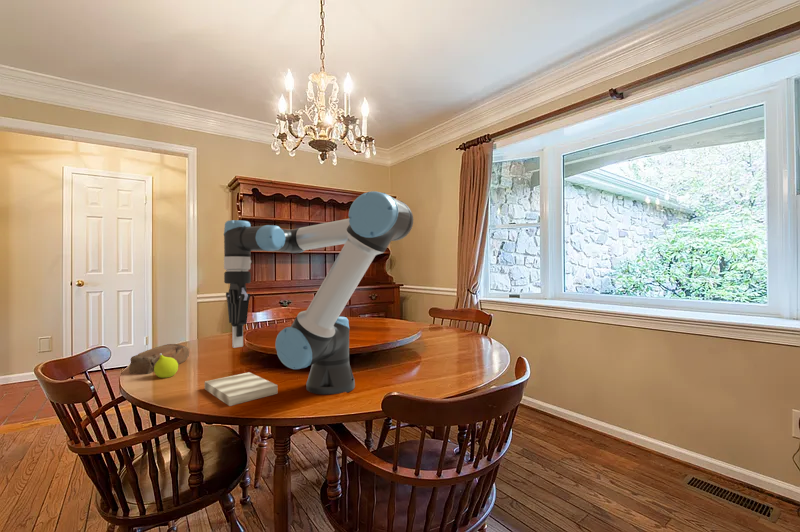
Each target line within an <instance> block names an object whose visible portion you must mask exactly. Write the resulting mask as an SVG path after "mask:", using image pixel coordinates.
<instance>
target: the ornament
mask: <svg viewBox="0 0 800 532" xmlns="http://www.w3.org/2000/svg"><path fill="white" fill-rule="evenodd" d="M178 370H179V364H178V363H177V361H176V360H175V359H174V358H171V357H165V356H163V355H162V353H160V359H159V360H158V361H157V363H156V364H155V366H154V372H153V373H154V374H155V376H156V377H158V378H159V379H167V378H171V377H173V376H175V375H176V373H177V372H178Z"/></svg>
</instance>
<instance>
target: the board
mask: <svg viewBox="0 0 800 532" xmlns="http://www.w3.org/2000/svg"><path fill="white" fill-rule="evenodd" d="M278 389H279V388H278V384H276V383H274V382H272V381H269V380H268V379H265V378H263V377H261V376H259V375H256V374H254V373H252V372H250V371H248V372H244V373H239V374H234V375H230V376H224V377H219V378H215V379H211V380H205V381H204V390H206V392H208V393H209V394H211V395H212V396H214V397H215V398H217V399H218V400H220V401H221V402H223V403H224V404H226V405H227V406H229V407H232V406H235V405H239V404H240V405H241V404H243V403H247V402H250V401H254V400H257V399H263V398H265V397H271V396H274V395H277V394H278Z"/></svg>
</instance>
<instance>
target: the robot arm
mask: <svg viewBox="0 0 800 532" xmlns="http://www.w3.org/2000/svg"><path fill="white" fill-rule="evenodd" d="M413 224H414V215H413V212H412V210H411V208H410V207H409V206H408V205H407V204H406V203H405V202H403V201H402V200H400V199H397V198H395V197H393V196H391V195H389V194H387V193H385V192H380V191H375V190H374V191H373V190H372V191H368V192H367V191H366V192H364V193H362V194H360V195H359V196H357V197H356V199H354V200H353V202H352V204H350V208H349V211H348V218H344V219H340V220H334V221H329V222H324V223H318V224H313V225H308V226H303V227H298V228H293V229H287V228H281V227H280V226H279V225H272V224H271V225H270V224H266V225H257V226H251V225H252V224H251V222H250V221H248V220H240V219H239V220H238V219H237V220H236V219H233V220H232V219H230V220H227V221H226V222H224V230H223V243H224V244H223V248H224V255H223V256H224V257H223V269H224V271H225V270H226V271H225V272H224V273H223V275H224V277H223V279H224V281H223V282H224V284H228V285H229V288H228V289H229V290H228V292H225V297H226V303H227V313H228V322H229V324H230V325H231V327H232V328H231V330H232V332H231V334H232V340H231V341H232V343H231V344H232V346H231V347H232V348H234V349H236V348H242V347H244V326H245V325H246V324H247V323H248V313H249V303H250V299H251V293H248V292H247V287H246V286H247V285H246V284H251V281H252V280H251V279H252V278H251V276H252V274H251V273H252V272H250V271H249V270H251V263H252V260H251V255H252V254H251V252H274V253H275V252H277V253H289V254H300V253H303V252H305V251H308V250H315V249H321V248H326V247H327V248H328V247H334V246H339V245H343V247H342V248H341V250H340V251H339V253H338V255H337V257H336V259H335V260H334V262H333V264H332V266H331V267H330V269H329V271H328V272H327V274H326V276H325V278H324V280H323V281H322V283H321V284H320V287H318V288H319V289H318V290H317V292H316V294H315V295H314V296H313V298H312V299H311V302H310V304H309V306H308V307H307V308H306V310H301V311H300V312H298V314H297V315H296V316H295V319H294V320H293V322H292V323H291V326H287V327H285V328H283V329H282V330H280V331H279V332H278V334H277V336H276V338H275V344H274V345H275V350H276V355H277V357H278V359H279V361H280V362H281V363H282V364H283V366H285V367H286V368H288V369H291V370H300V369H305V368H308V367H309V366H311V367H310V371H309V373H308V376H307V377H308V378H307V381H306V383H305V385H306V388H305V389H306V391H308V393H311V394H316V395H325V396H326V395H337V394H342V393H350V392H351V391H354V389H355V387H356V382H355V377H354V374H353V370H352V367H351V365H350V324H349V323H350V321H349V318H348V317H346V316H340V315H341V314H342V312H343V311H344V309H345V307H346V305H347V304H348V302H349V300H350V299H351V297H352V295H353V294H354V292H355V290H356V289H357V287H358V285H359V284H360V282H361V280H362V279H363V277H364V276H365V274H366V272H367V271H368V269H369V267H370V265H371V264H372V262H373V261H374V259H375V257H376V256H378V255H381V254H384V253H385V252H386V250H387V248H388V247H389V245H390V244H391V242H396V241H400V240H402V239H404V238H406V237H407V236H408V235H409V234H410V232H411V231H412V229H413V226H414V225H413Z"/></svg>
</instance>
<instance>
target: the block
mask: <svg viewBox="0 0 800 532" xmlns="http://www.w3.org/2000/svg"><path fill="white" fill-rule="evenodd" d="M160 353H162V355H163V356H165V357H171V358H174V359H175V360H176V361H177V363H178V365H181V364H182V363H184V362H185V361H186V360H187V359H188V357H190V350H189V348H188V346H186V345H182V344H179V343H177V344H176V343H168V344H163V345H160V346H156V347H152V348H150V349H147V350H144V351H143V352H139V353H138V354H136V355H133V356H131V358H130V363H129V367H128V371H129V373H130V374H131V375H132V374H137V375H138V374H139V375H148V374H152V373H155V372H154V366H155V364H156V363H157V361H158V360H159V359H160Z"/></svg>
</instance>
